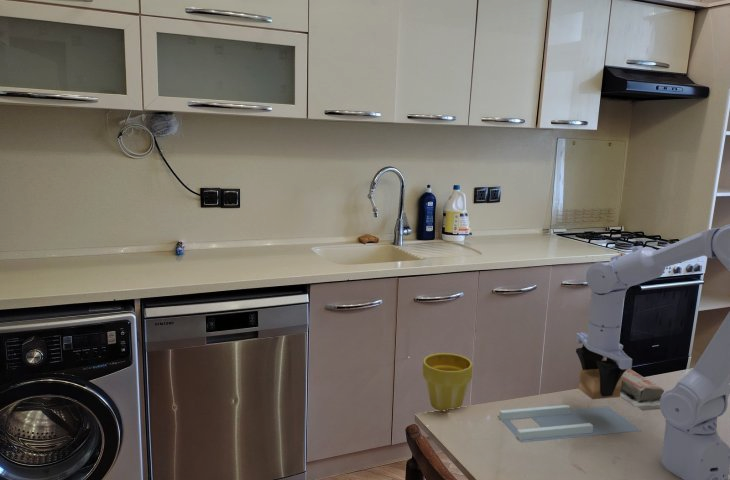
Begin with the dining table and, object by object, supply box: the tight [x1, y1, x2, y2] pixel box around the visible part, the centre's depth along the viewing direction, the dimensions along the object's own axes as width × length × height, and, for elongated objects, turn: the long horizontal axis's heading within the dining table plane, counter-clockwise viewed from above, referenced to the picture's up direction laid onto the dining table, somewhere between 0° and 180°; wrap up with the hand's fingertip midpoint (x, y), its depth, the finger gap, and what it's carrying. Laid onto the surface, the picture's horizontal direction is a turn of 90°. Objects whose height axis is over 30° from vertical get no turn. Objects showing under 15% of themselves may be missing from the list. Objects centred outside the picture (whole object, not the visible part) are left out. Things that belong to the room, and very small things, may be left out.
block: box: [578, 369, 622, 400], centre depth 106 cm, size 4×6×4 cm
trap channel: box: [497, 404, 642, 443], centre depth 106 cm, size 10×25×2 cm, turn 102°
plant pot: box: [422, 352, 474, 413], centre depth 113 cm, size 10×10×10 cm
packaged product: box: [602, 359, 665, 411], centre depth 123 cm, size 18×5×10 cm
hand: (598, 389), depth 106 cm, fingers closed on block, 4 cm apart
